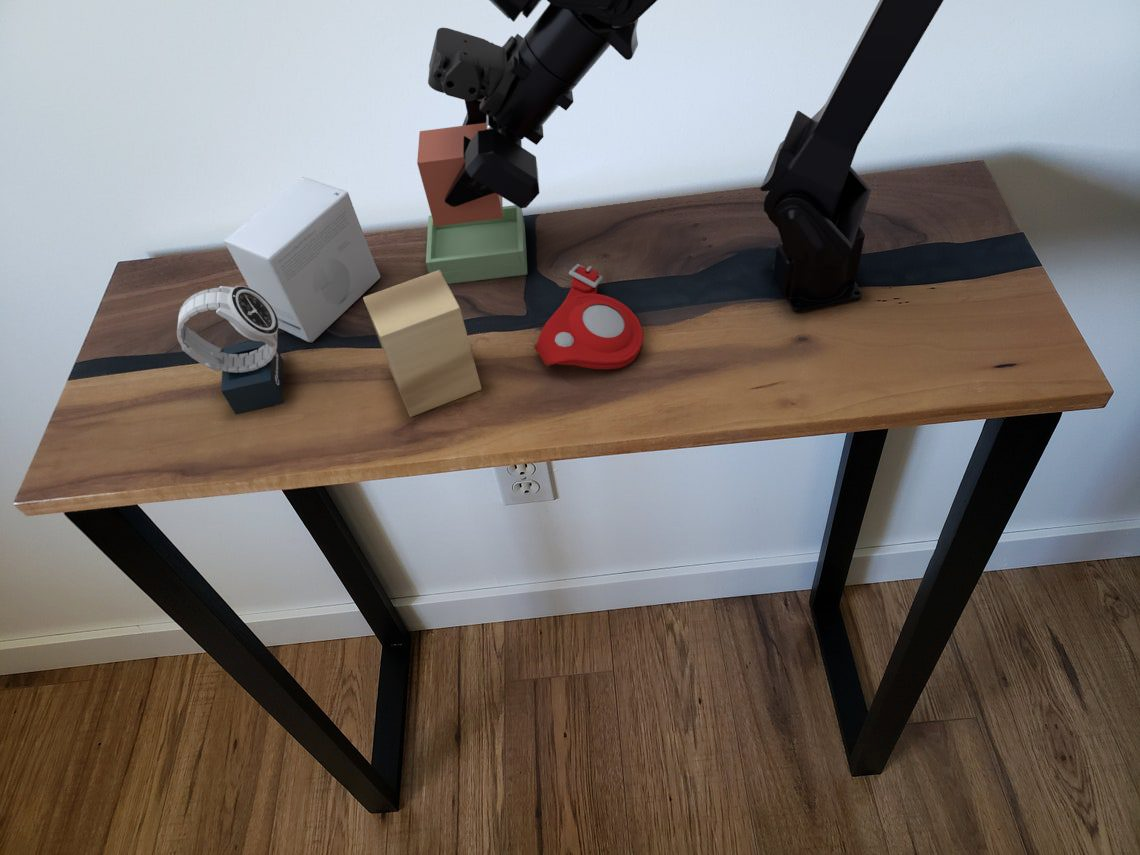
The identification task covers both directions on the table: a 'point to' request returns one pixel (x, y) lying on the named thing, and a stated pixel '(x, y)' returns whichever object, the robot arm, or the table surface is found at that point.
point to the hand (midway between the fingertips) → (449, 186)
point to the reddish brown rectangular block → (451, 176)
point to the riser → (424, 342)
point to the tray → (478, 248)
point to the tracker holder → (590, 328)
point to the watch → (238, 346)
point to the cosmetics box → (305, 257)
